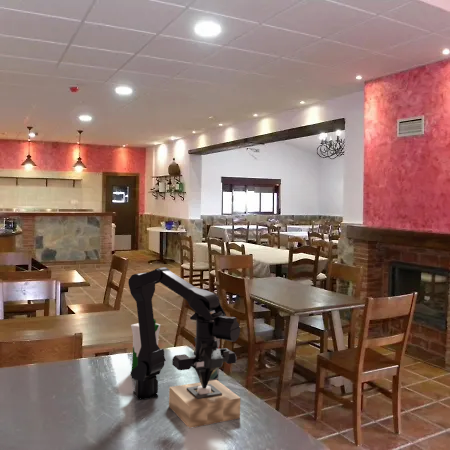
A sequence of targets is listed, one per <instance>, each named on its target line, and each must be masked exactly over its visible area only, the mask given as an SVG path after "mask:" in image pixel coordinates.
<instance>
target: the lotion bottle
mask: <svg viewBox="0 0 450 450" xmlns="http://www.w3.org/2000/svg"><path fill="white" fill-rule="evenodd" d="M215 340H216V341H217V347H218V349H220V340H221V339H217V338H216V337H215ZM219 370H220V367H219V368H216V369H215V370H214V371H213V372H212V374H211V376H210V379H209V381H212V380H217V381H218V379H219V374H220V371H219Z"/></svg>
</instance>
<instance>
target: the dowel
mask: <svg viewBox="0 0 450 450" xmlns="http://www.w3.org/2000/svg"><path fill="white" fill-rule="evenodd" d="M197 393H199V394H200V395H201V394H207V393H211V387H210V386H207V387H206V388H203V387H202V385H201V386H198V389H197Z"/></svg>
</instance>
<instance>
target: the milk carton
mask: <svg viewBox="0 0 450 450" xmlns="http://www.w3.org/2000/svg"><path fill="white" fill-rule="evenodd" d="M154 325H155V334H156V343H157V345H158V346H159V335H160V331H161V330H160V329H161V323H160V324H159V323H157V320H156V319H155V318H154ZM130 328H131V332H132V359H131V360H132V361H131V371H132V370H133V369H134V368H135V367H136V366H137V363H138V354H139V351H140V348H141V340H140V331H139V322H137V323H133V324H130ZM131 371H130V372H131Z"/></svg>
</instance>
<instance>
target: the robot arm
mask: <svg viewBox="0 0 450 450" xmlns="http://www.w3.org/2000/svg"><path fill="white" fill-rule="evenodd" d="M127 282H128V287H129V292H130V295H131V296H132V298H133V299H134V301H135V302H136V303H135V304H136V310H137V319H138V320H137V323H139V331H140V340H141V348H140V351H139V354H138V363H137V366H136V367H135V368H134V369H133V370H132V369H131V370H132V371H130V376H131V379H133V380H134V391H133V392H132V393H133V395H134V396H135V398H136V399H137V400H138V401H141V400H146V399H147V400H148V399H154V398H158V397H159V395H158V393H159V380H158V377H157V375H160V374H161V371H162V369H163V368H164V366H165V362H166V358H165V349H164V348H160V347H159V344H158V345H157V343H156V334H155V325H154V319H155V317H154V309H153V298H154V294H155V291H156V284H159V283H160V284H161V285H163V286H164V287H167V288H168V289H169V290H170V291H172V292H174V293H175V294H176V295H178V296H180V297H181V298H183V299H184V300H185V301H186V302H187V304H188V306H189V307H190V308H191V309H192V310H193V311H194V314H192V315H191V316H190V317H189V320H192V321H195V337H193V341H194V342H195V350H194V351H193V355H194V356H192V357H189V356H188V355H187V354H177V355H174V356H173V357H172V363H171V365H172V366H173V367H174V368H175V369H177V370H178V371H186V370H190V369H191V368H193V369H195V372H196V374H197V376H198V379H199V382H201V385H202V387H203V388H206V387H207V384H208V381H209V379H210V376H211V374H212V372H213V371H214V370H215V369H216V368H219V369H220V368H222V367H223V363H226V364H228V365H231V364H236V363H237V354H236V353H235V352H234V351H232V350H230V349H228V347H225V348H219V349H218V347H217V341H216V340H215V337H216V338H217V339H220V340H223V341H227V342H228V341H229V342H234V343H235V342H236V341H237V340H238V339H239V338H240V335H241V327H240V324H239V321H238V319H237V318H238V317H235V316H227V314H226V312H225V310H224V308H223V307H222V305H221V303H220V301H219V297H218V295H217V294H216V293H214V292H211V291H209V290H206V289H203V288H198V287H196V286H194V285H192V284H191V283H190V282H189V281H186V280H185V279H184V278H182V277H180V276H179V275H177V274H176V273H174V272H172V271H171V270H170V268H168V267H158V268H154V269H153V270H151V271H145V272H141V273H140V272H139V273H134V274H132V275H131V276H130V277H129V278H128V281H127Z"/></svg>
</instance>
